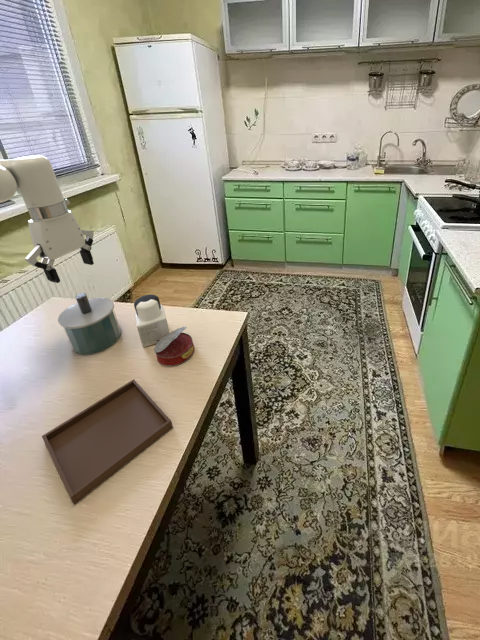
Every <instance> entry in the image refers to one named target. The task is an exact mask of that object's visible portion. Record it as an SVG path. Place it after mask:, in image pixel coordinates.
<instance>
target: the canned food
mask: <svg viewBox="0 0 480 640" xmlns="http://www.w3.org/2000/svg"><path fill="white" fill-rule="evenodd" d="M186 329H187V326H181V327H179V328H176V329H174V330H172V331H170V333H169V334H167V335H166V336H164V337H163V338H162V339H160V340H159V341H158V342H157V343H156V344H155V345H154V348H153V351H154V353H155V356H156V360H157V362H158V363H159V364H160V365H161V366H165V367H176V366H179V365H182V364H183V363H186V362H187V361H188V360H190V359H191V358H192V356H193V354H194V352H195V346H194V345H195V344H194V341H193V336H192V335H190V334H188V333H186V332H184V331H185V330H186Z"/></svg>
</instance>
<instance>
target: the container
mask: <svg viewBox="0 0 480 640" xmlns="http://www.w3.org/2000/svg"><path fill="white" fill-rule="evenodd" d="M133 307H134V310H135V311H134V317H135V325H136V328H137V332H138V335H139V339H140V342H141V346H142V347H143V348H146V347H149V346H152V345H156V344H157V342H158V341H159V340H160V339H162V338H163V337H164V336H166V335H167V334H169V333H171V330H170V328H169V323H168V319H167V315H166V312H165V308H164V305H163V304H161V302H160V298H159V296H157V295H155V294H145V295H142V296H140V297H138V298H137V299H136V300H135V301H134V303H133Z"/></svg>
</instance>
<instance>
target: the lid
mask: <svg viewBox="0 0 480 640" xmlns="http://www.w3.org/2000/svg"><path fill="white" fill-rule="evenodd" d="M75 301H76V302H75V303H73V304H72V305H69V306H68V307H66V308H65V309H64V310H63V311H62V312H60V313H59V315H58V318H57V322H58V324H59V326H60V327H61V328H63V327H64V328H68V329H76V328H83V327H87V326H90V325H93V324H95V323H97V322H99V321H101V320H103V319H104V318H106V317H107V316H108V315H109V314H110V313H111V312H112V311H113V309H114V308H115V303H114V301H113V300H112V299H111V298H108V297H104V296H103V297H101V296H99V297H91V298H89V297H88V295H87V293H85V292H81V293H78V294H76V295H75ZM114 310H115V309H114Z"/></svg>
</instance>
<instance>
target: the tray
mask: <svg viewBox="0 0 480 640" xmlns="http://www.w3.org/2000/svg"><path fill="white" fill-rule="evenodd" d="M173 428H174V426H173V423H172V420H171V419H170V418H169V416H167V414H166V413H165V412H164V411H163V410H162V409H161V408H160V406H158V404H157V403H156V402H155V401H154V400H153V399H152V398H151V396H150V395H149V394H148V393H147V392H146V391H145V389H143V387H141V385H140V384H139V383H138V382H137V380H136V379H132V380H130V381H128V382H126V383H125V384H124V385H122V386H121V387H119V388H117V389H115V390H113V391H112V392H111V393H109V394H108V395H105V396H104V397H102V398H101V399H100V400H98V401H96V402H95V403H93V404H92V405H89V406H88V407H86V408H85V409H83V410H82V411H80V412H78V413H77V414H75V415H74V416H72V417H70V418H69V419H67V420H65V421H64V422H62V423H60V424H59V425H57V426H55V427H54V428H53V429H51V430H49V431H48V432H46V433H44V434H43V435H41V438H42V440H43V443H44V444H45V446H46V449H47V451H48V453H49V455H50V458H51V460H52V461H53V464H54V466H55V468H56V471H57V472H58V475H59V476H60V479H61V481H62V483H63V486H64V488H65V490H66V492H67V494H68V496H69V497H70V500H71V502H72V504H73V505H76V504H77V503H78V502H80V501H81V500H82V499H84V498H85V497H86V496H88V494H89V493H91V492H92V491H94V490H95V489H96V488H97V487H99V486H100V485H101V484H102V483H104V482H105V481H106V480H108V479H109V478H110V477H112V475H114V474H115V473H117V472H118V471H120V470H121V469H122V468H123V467H124V466H126V465H127V464H128V463H129V462H130V461H132V460H133V459H135V458H136V457H137V456H138V455H140V454H141V453H142V452H144V451H145V450H146V449H147V448H148V447H150V446H152V444H154V443H155V442H156V441H157V440H159V439H160V438H161V437H163V436H164V435H165V434H167V433H168V432H169V431H171V429H173Z"/></svg>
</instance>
